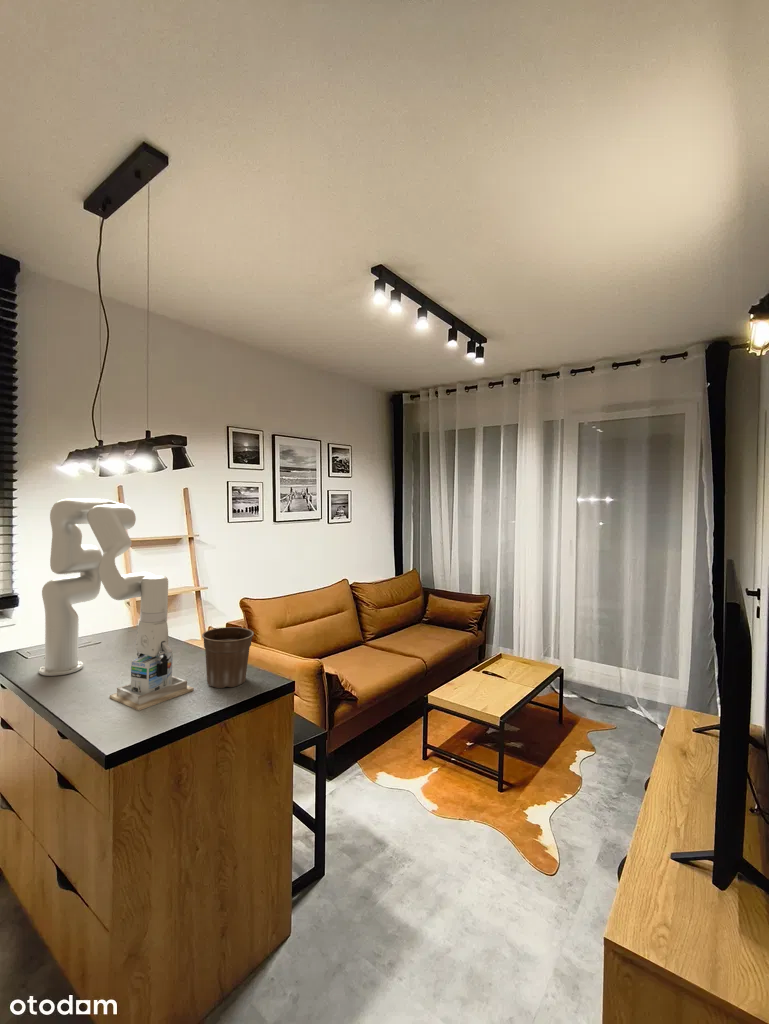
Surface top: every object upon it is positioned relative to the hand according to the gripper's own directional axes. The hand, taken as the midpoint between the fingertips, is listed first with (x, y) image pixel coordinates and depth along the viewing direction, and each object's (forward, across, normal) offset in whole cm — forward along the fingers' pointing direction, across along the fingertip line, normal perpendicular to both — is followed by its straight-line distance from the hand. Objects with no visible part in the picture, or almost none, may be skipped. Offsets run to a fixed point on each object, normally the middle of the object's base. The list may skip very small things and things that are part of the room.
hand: (152, 671), depth 149 cm
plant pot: (+7, +10, +20) cm, 24 cm away
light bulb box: (+6, 0, 0) cm, 6 cm away
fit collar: (+7, 0, 0) cm, 7 cm away
